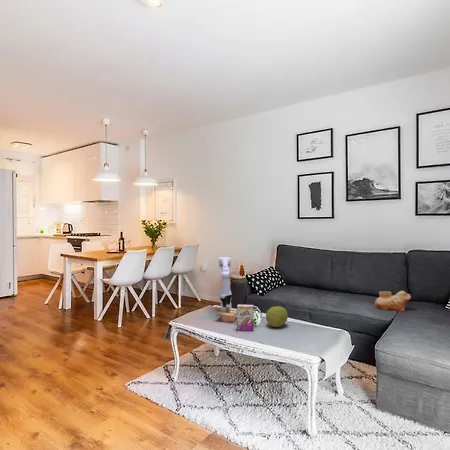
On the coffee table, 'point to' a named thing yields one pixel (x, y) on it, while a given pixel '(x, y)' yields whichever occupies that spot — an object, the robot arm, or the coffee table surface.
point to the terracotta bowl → (228, 319)
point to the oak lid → (227, 312)
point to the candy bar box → (245, 317)
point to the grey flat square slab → (209, 316)
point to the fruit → (276, 316)
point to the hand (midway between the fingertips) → (226, 305)
